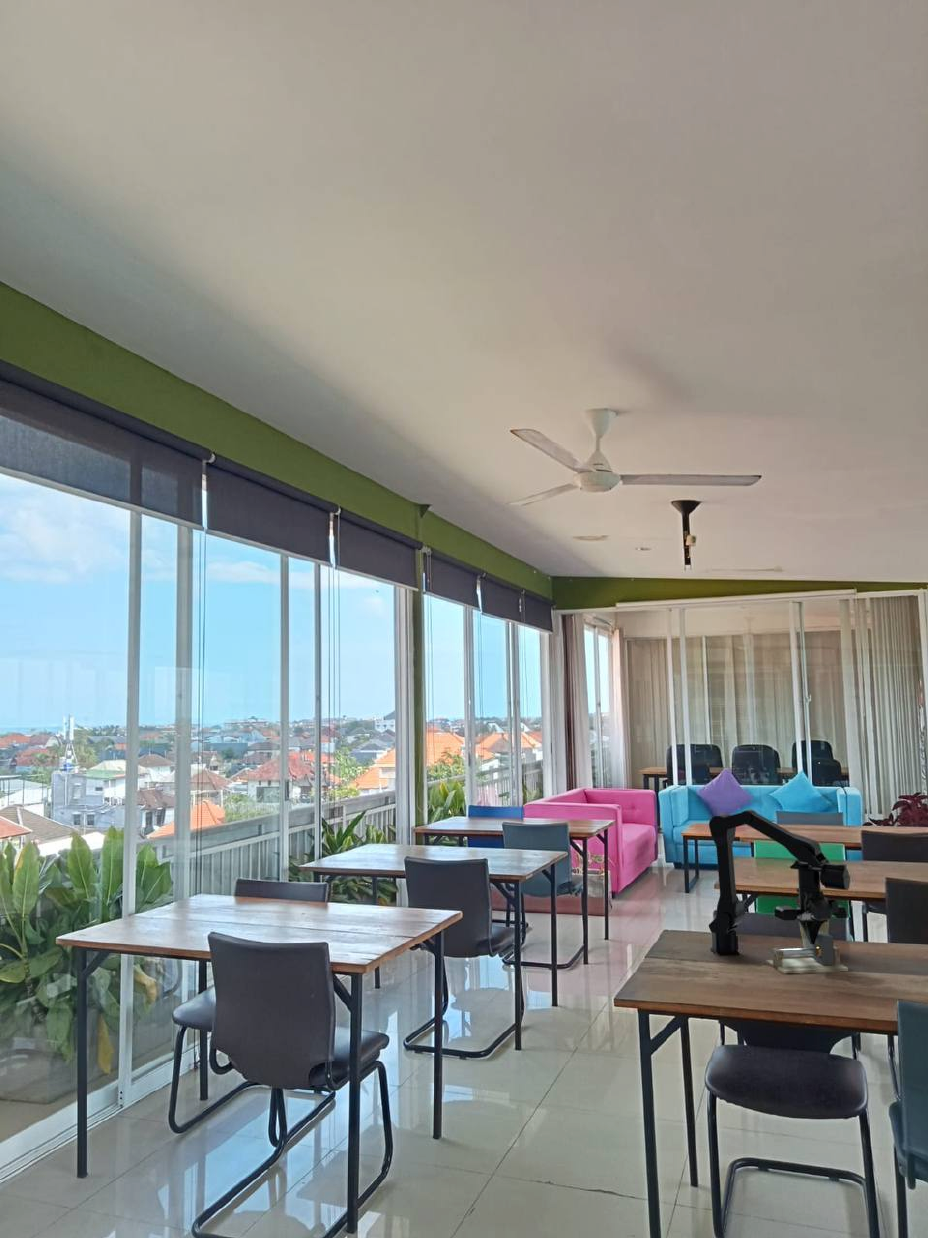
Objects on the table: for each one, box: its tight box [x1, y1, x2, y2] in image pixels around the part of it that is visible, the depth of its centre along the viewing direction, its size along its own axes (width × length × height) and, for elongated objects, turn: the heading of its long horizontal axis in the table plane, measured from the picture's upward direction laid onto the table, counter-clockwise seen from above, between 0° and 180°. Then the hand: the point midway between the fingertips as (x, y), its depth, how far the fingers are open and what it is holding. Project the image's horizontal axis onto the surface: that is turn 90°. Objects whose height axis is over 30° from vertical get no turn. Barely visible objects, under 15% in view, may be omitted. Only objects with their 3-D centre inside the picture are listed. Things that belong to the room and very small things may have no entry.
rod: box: [772, 947, 821, 958], centre depth 253 cm, size 18×2×2 cm, turn 97°
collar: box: [812, 931, 835, 965], centre depth 253 cm, size 3×6×7 cm, turn 7°
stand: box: [766, 945, 849, 974], centre depth 253 cm, size 18×11×5 cm, turn 97°
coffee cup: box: [795, 895, 830, 948], centre depth 270 cm, size 10×10×15 cm
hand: (812, 944), depth 253 cm, fingers closed
